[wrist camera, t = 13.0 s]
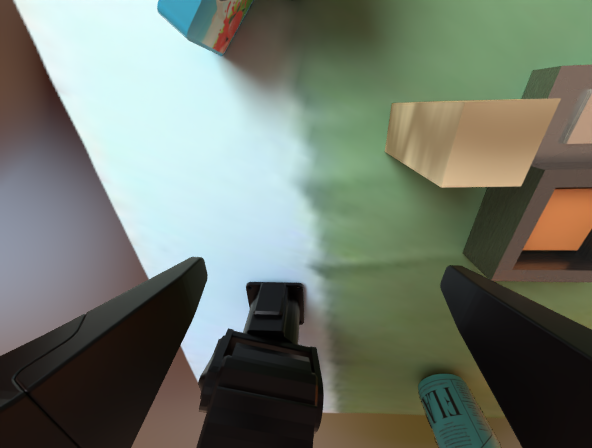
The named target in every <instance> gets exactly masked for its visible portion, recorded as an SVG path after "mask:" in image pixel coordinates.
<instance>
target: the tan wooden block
mask: <svg viewBox="0 0 592 448" xmlns="http://www.w3.org/2000/svg"><path fill="white" fill-rule="evenodd" d="M560 100H561V98H552V99H511V100H470V101H433V102H407V103H392V106H391V113H390V120H389V126H388V133H387V140H386V147H385V152H386V153H388V154H389V155H391V156H393V157H394V158H396V159H397V160H399V161H400V162H402V163H404V164H405V165H407V166H408V167H410V168H411V169H413V170H414V171H416V172H418V173H419V174H421V175H422V176H424V177H425V178H427V179H429V180H430V181H432V182H433V183H435V184H436V185H438V186H440V187H513V186H522V183H523V181H524V179H525V177H526V175H527V172H528V170H529V168H530V166H531V164H532V161H533V159H534V157H535V155H536V153H537V150H538V148H539V146H540V144H541V142H542V139H543V137H544V135H545V133H546V131H547V128H548V126H549V124H550V122H551V120H552V117H553V115H554V113H555V111H556V109H557V106H558V104H559V102H560Z"/></svg>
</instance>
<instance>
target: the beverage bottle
mask: <svg viewBox="0 0 592 448" xmlns="http://www.w3.org/2000/svg"><path fill="white" fill-rule="evenodd" d="M418 390H419V392H418V394H419V395H420V397H421V402H422V403H423V404H422V405H424V407H423V408H425V410H424V412H425V411H426V413H427V415H426V417H427V416H428V417H427V419H428V422H429V421H430V422H429V424H430V426H431V428H432V429H433V432H434V434H435V437H436V440H437V442H438V445H439V448H501V447H500V445H499V443H498V441H497V439H496V437H495V435H494V433H493V432H492V430H491V428H490V426H489V424H488V422H487V421H486V419H485V417H484V415H483V413H482V412H483V411H482V412H481V410H482V409H481V408H479V406H478V404H477V403H476V401H475V397H473V395H472V394H473V393H471V392H470V390H469V388H468V386H467V384H466V383H465V382H464V381H463V380H462V379H461V378H460V377H459V376H456V375H453V374H436V375H432V376H429V377H427V378H425V379H423V380H422V381H421V382H420V383H419V385H418ZM420 397H419V398H420ZM426 413H425V414H426Z"/></svg>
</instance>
